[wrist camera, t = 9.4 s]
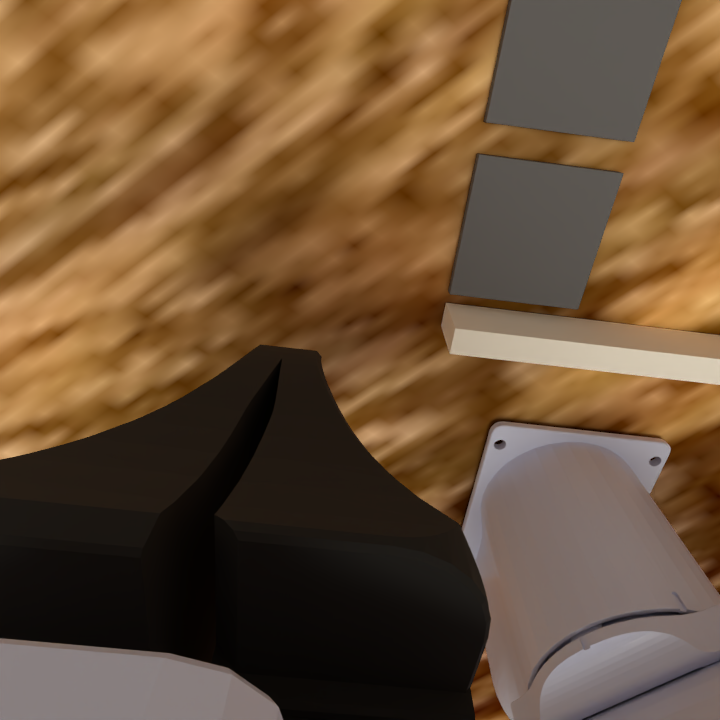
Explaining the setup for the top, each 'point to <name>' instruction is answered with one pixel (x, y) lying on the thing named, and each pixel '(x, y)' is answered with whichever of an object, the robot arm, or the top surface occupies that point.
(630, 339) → the lane box
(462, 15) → the top surface
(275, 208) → the top surface
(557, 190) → the trap pits
